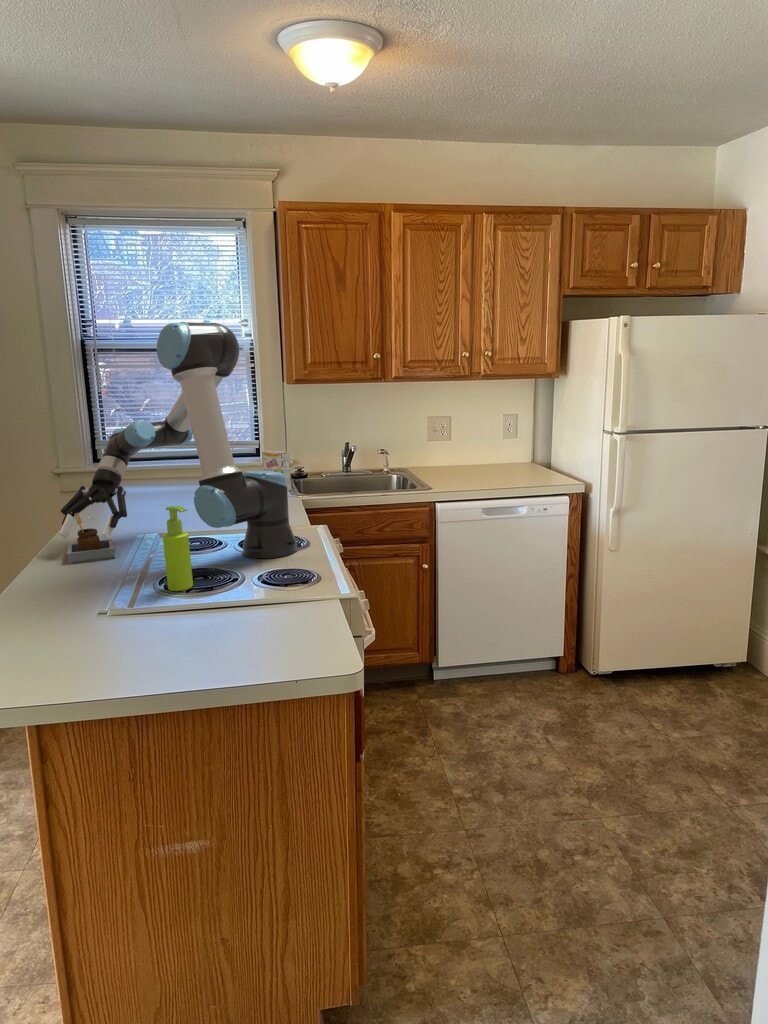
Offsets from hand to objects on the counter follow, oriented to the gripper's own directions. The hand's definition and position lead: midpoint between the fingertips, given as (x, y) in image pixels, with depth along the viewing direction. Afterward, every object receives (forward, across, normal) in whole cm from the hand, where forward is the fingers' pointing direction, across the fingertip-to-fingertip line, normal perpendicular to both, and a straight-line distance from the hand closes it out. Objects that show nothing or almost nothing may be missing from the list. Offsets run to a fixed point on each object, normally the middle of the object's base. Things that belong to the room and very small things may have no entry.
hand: (84, 536), depth 199 cm
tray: (+3, 0, -6) cm, 7 cm away
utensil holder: (+3, +1, -6) cm, 6 cm away
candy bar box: (-70, -17, -80) cm, 107 cm away
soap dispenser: (+20, -41, +10) cm, 47 cm away
